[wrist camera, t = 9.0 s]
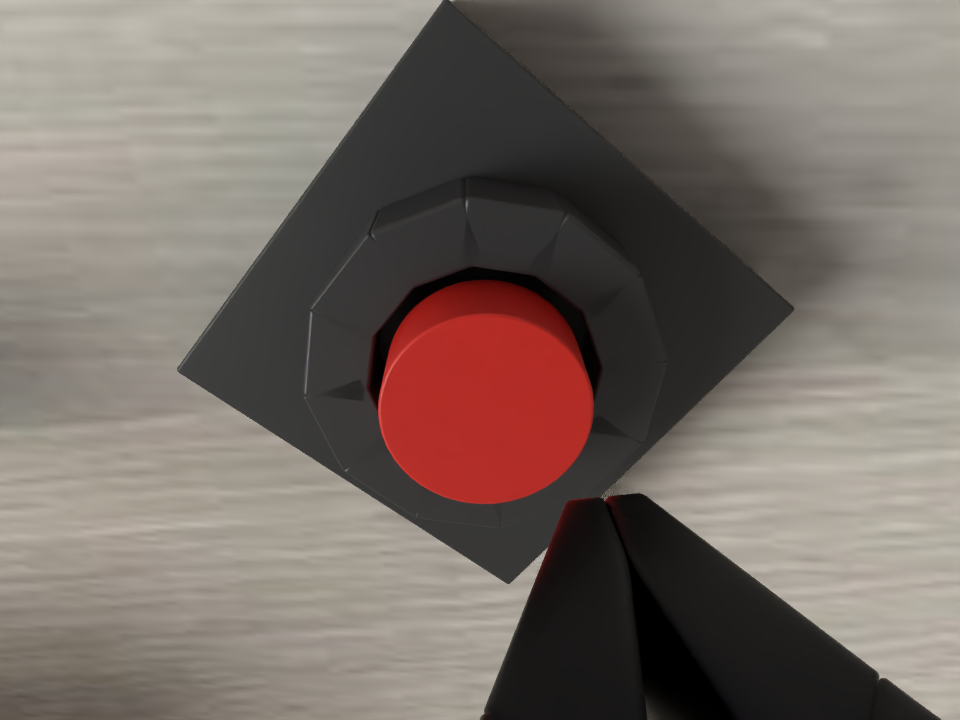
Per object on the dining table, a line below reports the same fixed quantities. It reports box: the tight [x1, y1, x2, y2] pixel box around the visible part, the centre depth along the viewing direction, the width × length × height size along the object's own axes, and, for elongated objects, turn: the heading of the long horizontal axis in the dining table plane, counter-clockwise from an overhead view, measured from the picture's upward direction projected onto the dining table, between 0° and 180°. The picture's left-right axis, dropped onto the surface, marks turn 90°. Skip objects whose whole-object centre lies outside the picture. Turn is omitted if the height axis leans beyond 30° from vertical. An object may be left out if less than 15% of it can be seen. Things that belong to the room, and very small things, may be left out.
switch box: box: [177, 0, 794, 584], centre depth 16 cm, size 9×9×4 cm
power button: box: [378, 280, 594, 504], centre depth 14 cm, size 4×4×2 cm
